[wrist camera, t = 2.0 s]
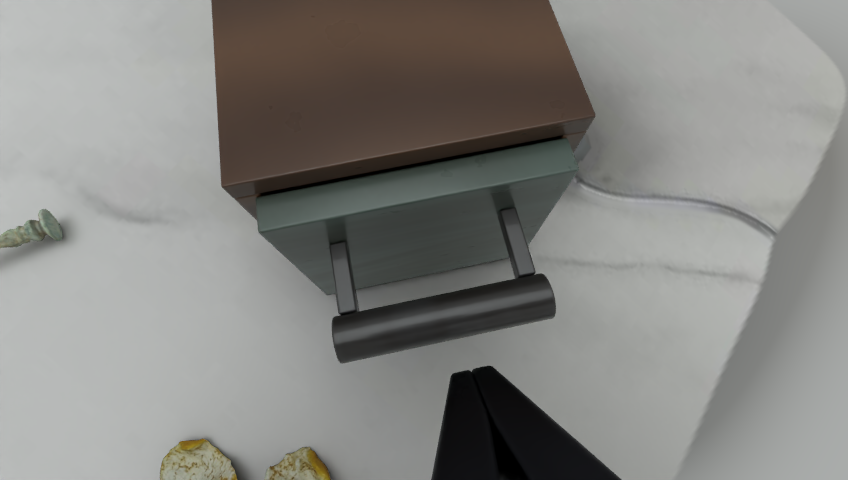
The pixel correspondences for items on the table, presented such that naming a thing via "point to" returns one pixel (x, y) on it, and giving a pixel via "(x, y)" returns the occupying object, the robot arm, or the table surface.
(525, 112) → the cabinet
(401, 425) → the table surface
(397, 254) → the drawer
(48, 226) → the soupspoon
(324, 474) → the fruit
